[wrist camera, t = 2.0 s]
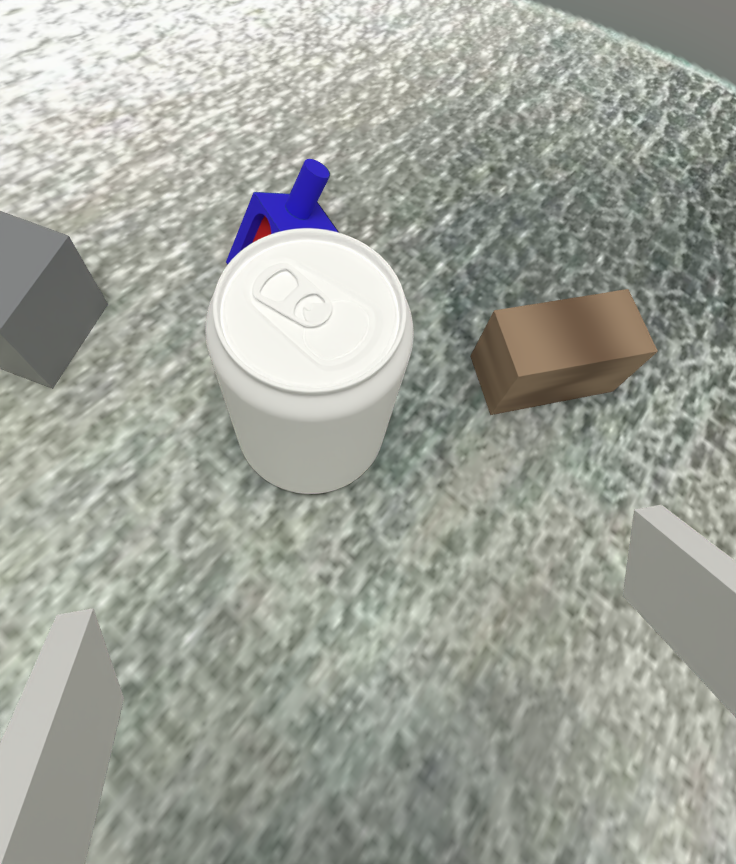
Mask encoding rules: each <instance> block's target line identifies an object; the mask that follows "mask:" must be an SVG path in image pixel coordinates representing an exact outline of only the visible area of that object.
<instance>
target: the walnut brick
mask: <svg viewBox="0 0 736 864" xmlns="http://www.w3.org/2000/svg"><path fill="white" fill-rule="evenodd" d="M656 352H657V349H656V347H655V345H654V343H653V340H652V338H651V336H650V334H649V332H648V330H647V328H646V326H645V323H644V321H643V319H642V317H641V315H640V313H639V311H638V309H637V307H636V304H635V302H634V300H633V298H632V296H631V294H630V292H629V290H628V289H626V290H620V291H614V292H608V293H601V294H595V295H589V296H583V297H576V298H570V299H564V300H557V301H551V302H545V303H539V304H532V305H526V306H520V307H514V308H507V309H501V310H495V311H494V312H493V314H492V316H491V318H490V319H489V321H488V323H487V325H486V327H485V329H484V331H483V333H482V335H481V337H480V339H479V341H478V342H477V344H476V346H475V348H474V350H473V352H472V354H471V359H472V362H473V365H474V368H475V371H476V374H477V377H478V380H479V382H480V385H481V388H482V391H483V394H484V397H485V400H486V403H487V406H488V409H489V412H490V415H493V414H499V413H504V412H509V411H514V410H519V409H524V408H530V407H535V406H540V405H545V404H550V403H556V402H561V401H566V400H571V399H576V398H581V397H587V396H592V395H597V394H602V393H607V392H613V391H614V390H615V389H616V388H617V387H618V386H620V385H621V384H622V383H623V382H624V381H625V380H626V379H627V378H628V377H630V376H631V375H632V374H633V373H634V372H635V371H636V370H637V369H638V368H640V367H641V366H642V365H643V364H644V363H645V362H646V361H647V360H649V359H650V358H651V357H652V356H653V355H654V354H655V353H656Z"/></svg>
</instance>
